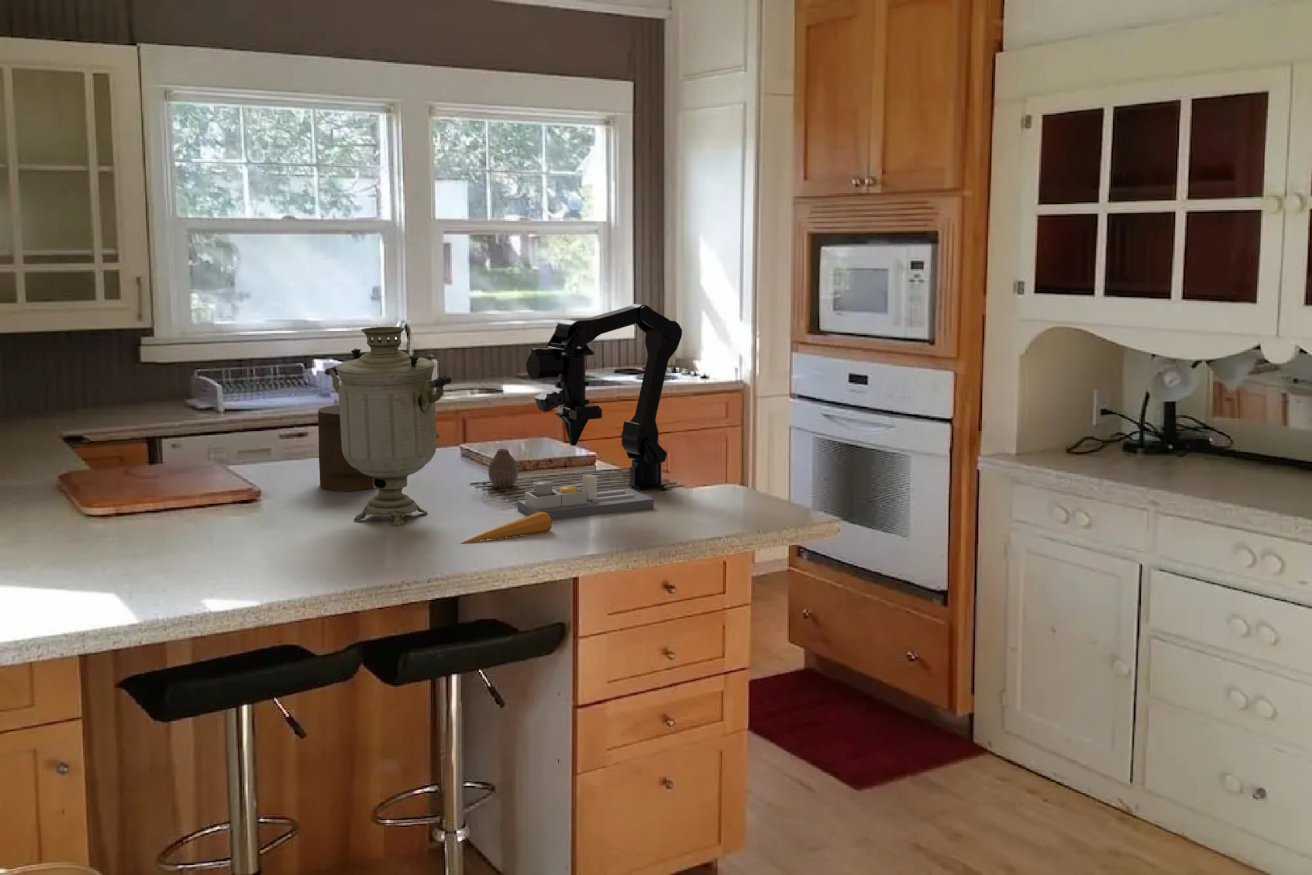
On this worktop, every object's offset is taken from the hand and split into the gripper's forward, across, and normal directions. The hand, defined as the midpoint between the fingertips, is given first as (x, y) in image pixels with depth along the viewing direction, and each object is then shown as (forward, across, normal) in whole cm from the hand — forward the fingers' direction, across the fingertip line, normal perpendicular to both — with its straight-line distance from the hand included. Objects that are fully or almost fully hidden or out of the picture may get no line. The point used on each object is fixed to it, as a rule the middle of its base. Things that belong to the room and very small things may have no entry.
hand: (573, 445), depth 281 cm
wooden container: (+12, -36, -41) cm, 56 cm away
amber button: (+10, +11, -6) cm, 16 cm away
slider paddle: (+10, +11, -1) cm, 15 cm away
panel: (+12, +11, -2) cm, 16 cm away
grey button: (+8, +11, -12) cm, 18 cm away
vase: (+12, -18, -10) cm, 24 cm away
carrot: (+12, +25, -26) cm, 38 cm away
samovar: (+12, -1, -39) cm, 41 cm away
